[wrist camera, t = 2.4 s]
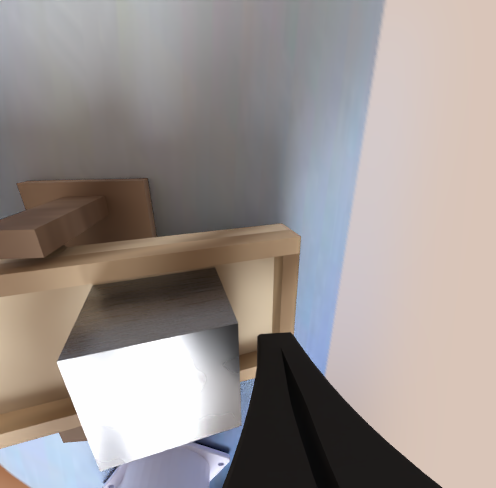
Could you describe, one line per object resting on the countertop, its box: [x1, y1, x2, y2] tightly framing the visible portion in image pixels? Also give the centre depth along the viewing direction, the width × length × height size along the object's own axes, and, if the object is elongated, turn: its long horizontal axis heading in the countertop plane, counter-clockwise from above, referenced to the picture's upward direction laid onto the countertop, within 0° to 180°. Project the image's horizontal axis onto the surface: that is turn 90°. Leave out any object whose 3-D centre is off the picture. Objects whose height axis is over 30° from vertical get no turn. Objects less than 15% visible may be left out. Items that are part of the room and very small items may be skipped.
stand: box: [0, 178, 157, 443], centre depth 13 cm, size 6×12×6 cm, turn 1°
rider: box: [57, 267, 241, 472], centre depth 10 cm, size 5×5×4 cm
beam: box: [0, 223, 301, 449], centre depth 11 cm, size 20×8×2 cm, turn 91°
